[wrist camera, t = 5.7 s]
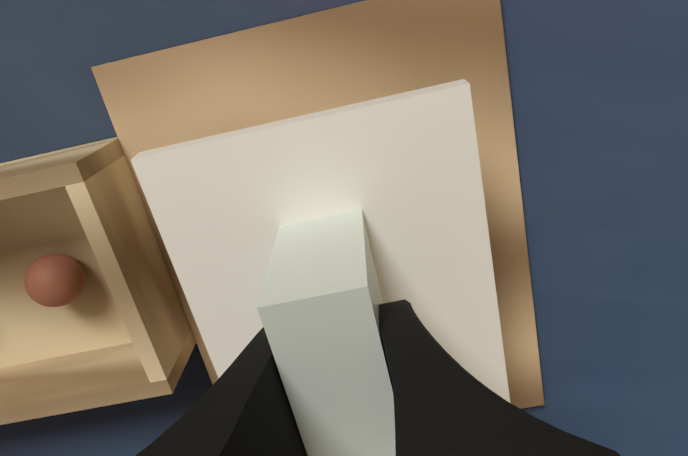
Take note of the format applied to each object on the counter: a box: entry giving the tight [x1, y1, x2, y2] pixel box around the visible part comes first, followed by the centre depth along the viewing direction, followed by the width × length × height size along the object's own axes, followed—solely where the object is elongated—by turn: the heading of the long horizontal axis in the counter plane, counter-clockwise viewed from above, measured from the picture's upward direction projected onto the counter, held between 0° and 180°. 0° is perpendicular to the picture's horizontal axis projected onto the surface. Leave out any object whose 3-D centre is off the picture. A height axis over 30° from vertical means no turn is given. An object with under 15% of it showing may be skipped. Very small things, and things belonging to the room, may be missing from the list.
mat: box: [91, 0, 544, 409], centre depth 17 cm, size 14×11×1 cm
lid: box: [131, 79, 510, 456], centre depth 13 cm, size 8×11×5 cm
